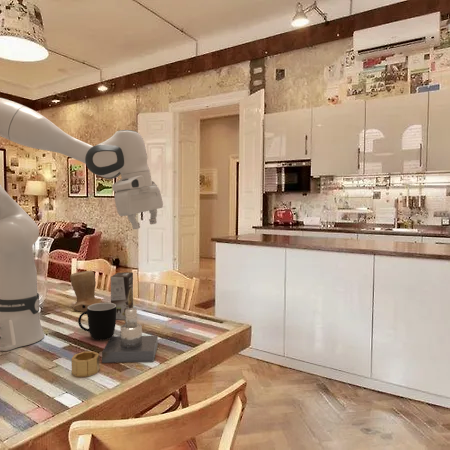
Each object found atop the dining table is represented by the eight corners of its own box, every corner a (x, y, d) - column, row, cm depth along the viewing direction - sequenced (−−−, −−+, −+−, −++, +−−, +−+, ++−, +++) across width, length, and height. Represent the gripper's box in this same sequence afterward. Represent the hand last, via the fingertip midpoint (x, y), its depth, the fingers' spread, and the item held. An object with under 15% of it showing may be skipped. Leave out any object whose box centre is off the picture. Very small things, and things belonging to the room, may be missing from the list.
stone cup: (75, 303, 167) (74, 268, 166) (104, 302, 168) (103, 267, 167) (64, 313, 152) (63, 275, 151) (96, 312, 153) (95, 275, 152)
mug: (119, 331, 132) (118, 302, 131) (113, 341, 123) (113, 310, 122) (82, 332, 131) (82, 302, 130) (74, 342, 122) (73, 310, 121)
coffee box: (127, 319, 145) (127, 276, 143) (110, 319, 145) (109, 276, 143) (134, 312, 154) (133, 272, 152) (117, 312, 154) (117, 271, 153)
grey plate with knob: (102, 362, 108) (101, 316, 107) (111, 346, 120) (110, 304, 119) (153, 361, 109) (153, 315, 108) (157, 345, 121) (157, 303, 120)
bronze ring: (69, 377, 99) (69, 361, 99) (76, 366, 105) (76, 351, 105) (95, 376, 99) (95, 361, 99) (101, 365, 106) (101, 351, 105)
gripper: (147, 182, 132) (154, 222, 134) (108, 186, 114) (117, 233, 115) (163, 179, 130) (170, 220, 131) (125, 183, 111) (134, 230, 113)
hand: (145, 226), depth 123 cm, fingers open, 8 cm apart
